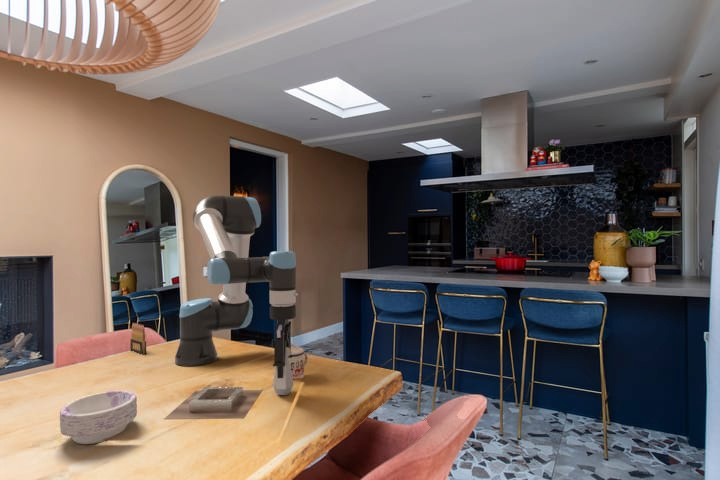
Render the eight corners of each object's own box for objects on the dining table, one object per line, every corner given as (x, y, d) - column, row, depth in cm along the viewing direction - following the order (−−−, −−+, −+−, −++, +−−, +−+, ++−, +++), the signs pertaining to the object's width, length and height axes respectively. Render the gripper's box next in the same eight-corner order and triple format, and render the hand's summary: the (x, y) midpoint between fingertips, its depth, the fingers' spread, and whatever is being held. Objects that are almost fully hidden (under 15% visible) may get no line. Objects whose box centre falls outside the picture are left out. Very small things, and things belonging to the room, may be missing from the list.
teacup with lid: (289, 384, 129) (288, 347, 130) (271, 378, 135) (270, 343, 135) (316, 375, 139) (316, 340, 139) (298, 370, 144) (298, 337, 145)
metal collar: (204, 396, 117) (204, 387, 117) (243, 395, 117) (243, 386, 117) (189, 411, 106) (189, 402, 106) (231, 411, 106) (231, 401, 106)
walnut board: (195, 394, 122) (195, 390, 122) (262, 393, 122) (262, 389, 122) (163, 423, 102) (163, 419, 102) (243, 422, 102) (243, 418, 102)
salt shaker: (291, 396, 115) (291, 350, 115) (271, 396, 115) (270, 350, 115) (294, 389, 121) (294, 345, 121) (275, 389, 121) (275, 345, 121)
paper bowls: (42, 446, 90) (42, 410, 91) (102, 418, 105) (102, 387, 105) (97, 455, 86) (96, 417, 87) (151, 424, 101) (151, 392, 101)
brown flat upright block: (130, 350, 174) (130, 322, 174) (134, 349, 176) (134, 322, 176) (141, 354, 168) (141, 325, 168) (146, 353, 169) (146, 324, 169)
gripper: (290, 309, 109) (290, 396, 109) (300, 299, 128) (300, 373, 128) (262, 309, 109) (262, 397, 109) (276, 299, 128) (276, 374, 128)
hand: (283, 384), depth 118 cm, fingers closed on salt shaker, 6 cm apart
